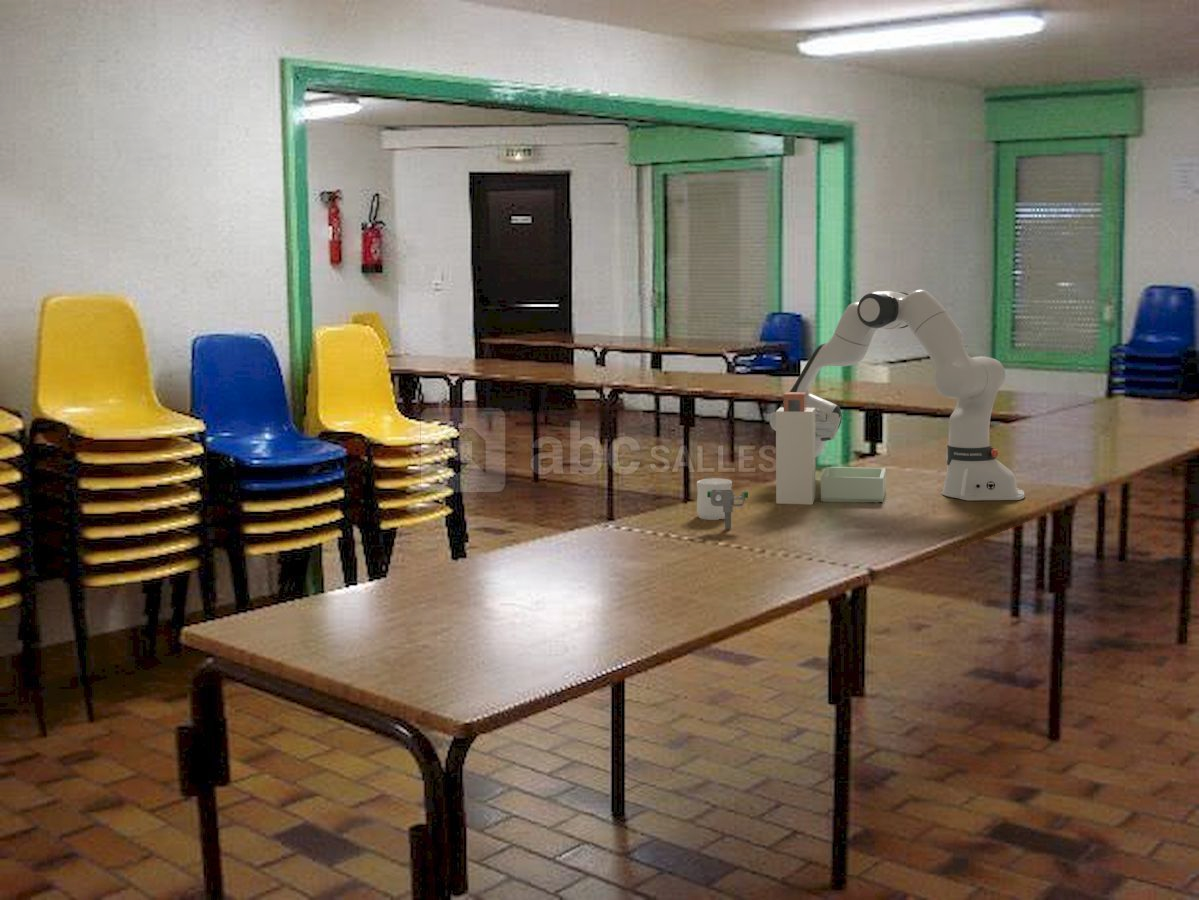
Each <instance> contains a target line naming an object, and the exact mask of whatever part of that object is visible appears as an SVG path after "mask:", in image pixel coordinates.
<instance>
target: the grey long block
mask: <svg viewBox="0 0 1199 900" xmlns="http://www.w3.org/2000/svg"><path fill="white" fill-rule="evenodd" d="M783 402H784V412H804V411H805V410H806V392H790V391H785V392H784V393H783Z"/></svg>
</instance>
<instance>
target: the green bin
mask: <svg viewBox="0 0 1199 900" xmlns="http://www.w3.org/2000/svg"><path fill="white" fill-rule="evenodd" d="M822 472H823V473H822V474H821V476H820V502H821V501H823V502H825V503H826V502H827V503H829V502H830V503H857V502H883V503H884V500H883V499H885V496H884V495H886V492H887V491H886V485H887V481H886V479H887V475H886V473H887V470H886V467H853V466H852V467H848V466H847V467H844V466H826V467H825V469H824V471H822ZM885 491H886V492H885ZM823 502H822V503H823Z"/></svg>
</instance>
